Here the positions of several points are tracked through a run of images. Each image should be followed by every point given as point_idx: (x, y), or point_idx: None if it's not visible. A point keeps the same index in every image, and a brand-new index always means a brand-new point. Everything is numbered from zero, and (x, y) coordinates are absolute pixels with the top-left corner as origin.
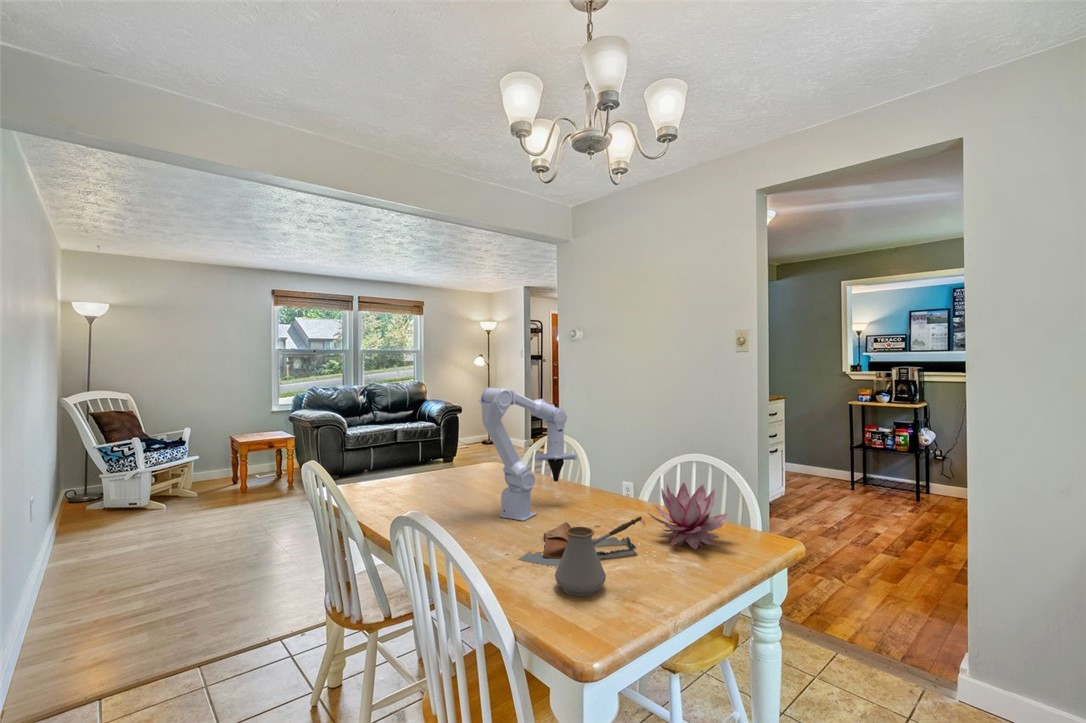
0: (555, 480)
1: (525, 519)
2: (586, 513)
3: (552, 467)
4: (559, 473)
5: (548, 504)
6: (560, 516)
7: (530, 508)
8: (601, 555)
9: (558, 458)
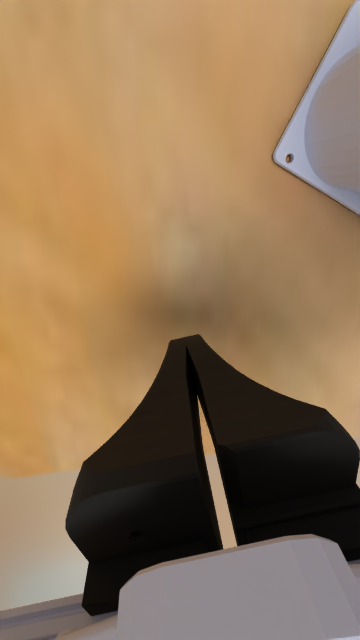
0: (191, 339)
1: (345, 17)
2: (4, 201)
3: (259, 395)
4: (157, 375)
5: (208, 329)
6: (139, 132)
7: (331, 97)
8: None
9: (180, 559)
